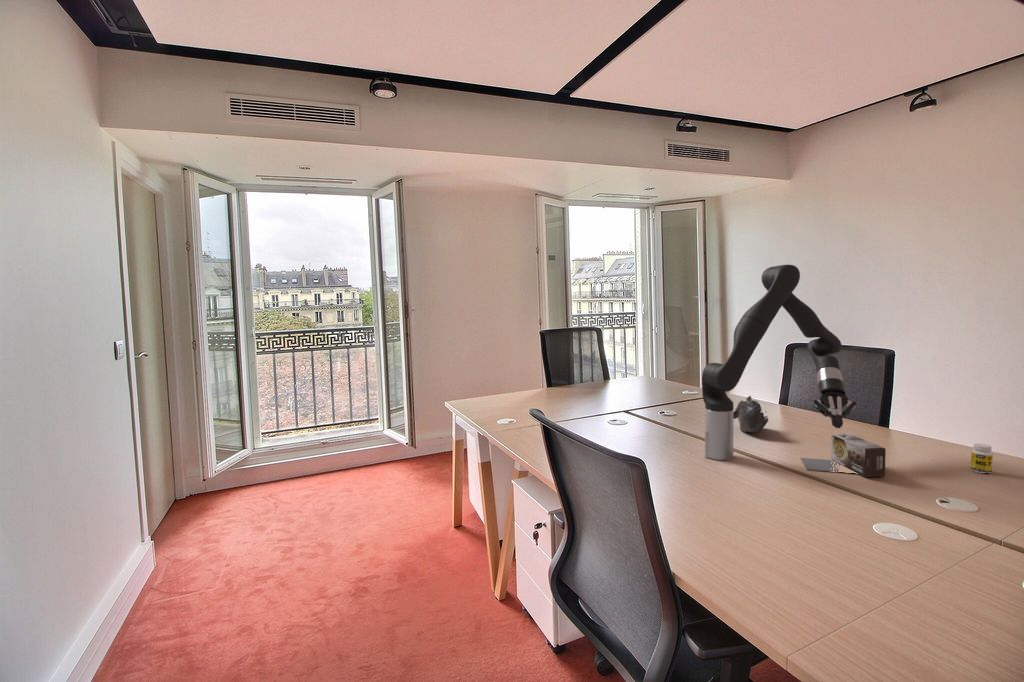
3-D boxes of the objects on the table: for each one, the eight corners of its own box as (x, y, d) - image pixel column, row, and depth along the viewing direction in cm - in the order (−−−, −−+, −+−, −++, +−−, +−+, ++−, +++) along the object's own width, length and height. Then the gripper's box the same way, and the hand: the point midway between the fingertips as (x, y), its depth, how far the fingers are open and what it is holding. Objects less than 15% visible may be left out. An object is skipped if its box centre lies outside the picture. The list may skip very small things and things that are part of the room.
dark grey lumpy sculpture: (727, 424, 212) (735, 439, 193) (731, 391, 210) (739, 404, 191) (762, 428, 209) (774, 444, 189) (767, 395, 206) (779, 408, 187)
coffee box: (848, 458, 166) (885, 477, 149) (829, 459, 165) (864, 478, 149) (849, 432, 165) (886, 448, 148) (830, 433, 164) (865, 449, 148)
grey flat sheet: (806, 470, 158) (806, 469, 158) (800, 458, 169) (800, 457, 169) (881, 476, 151) (881, 475, 150) (870, 464, 161) (870, 463, 161)
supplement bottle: (973, 473, 151) (974, 446, 150) (968, 468, 155) (969, 442, 154) (994, 475, 149) (995, 448, 148) (988, 470, 153) (989, 443, 152)
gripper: (810, 376, 170) (816, 419, 160) (855, 377, 165) (864, 422, 155) (807, 388, 176) (813, 431, 165) (850, 390, 171) (859, 434, 161)
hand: (838, 426), depth 160 cm, fingers closed
